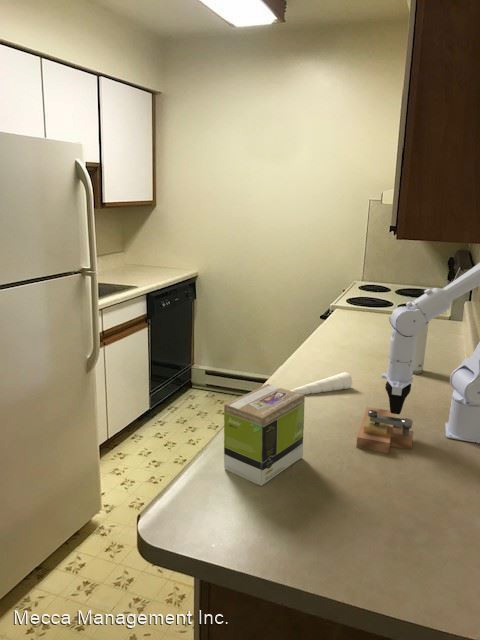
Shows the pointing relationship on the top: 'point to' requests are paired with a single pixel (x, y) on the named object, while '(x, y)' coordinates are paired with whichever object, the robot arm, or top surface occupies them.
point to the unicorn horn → (326, 384)
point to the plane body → (383, 443)
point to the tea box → (263, 433)
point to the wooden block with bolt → (375, 427)
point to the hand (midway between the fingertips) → (395, 412)
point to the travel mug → (420, 349)
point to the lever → (389, 420)
